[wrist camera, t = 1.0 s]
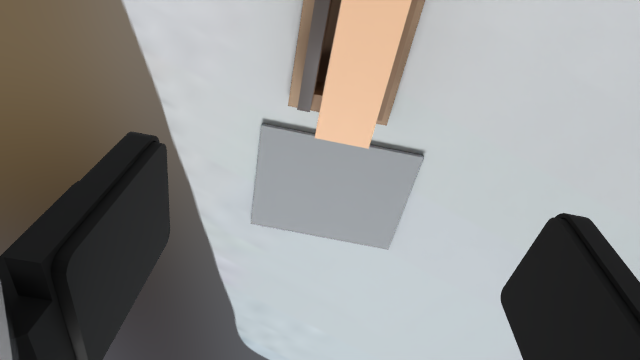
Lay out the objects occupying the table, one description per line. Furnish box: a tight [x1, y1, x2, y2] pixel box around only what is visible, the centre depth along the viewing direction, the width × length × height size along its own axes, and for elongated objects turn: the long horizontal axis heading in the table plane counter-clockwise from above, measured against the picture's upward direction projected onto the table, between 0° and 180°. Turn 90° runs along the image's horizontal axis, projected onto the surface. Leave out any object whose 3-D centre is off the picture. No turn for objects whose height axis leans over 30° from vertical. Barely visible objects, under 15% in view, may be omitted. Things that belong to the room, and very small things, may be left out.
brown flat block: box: [288, 0, 425, 126], centre depth 27 cm, size 8×14×4 cm, turn 170°
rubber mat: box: [251, 123, 424, 250], centre depth 37 cm, size 14×11×1 cm
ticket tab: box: [315, 0, 412, 149], centre depth 23 cm, size 3×8×10 cm, turn 170°
